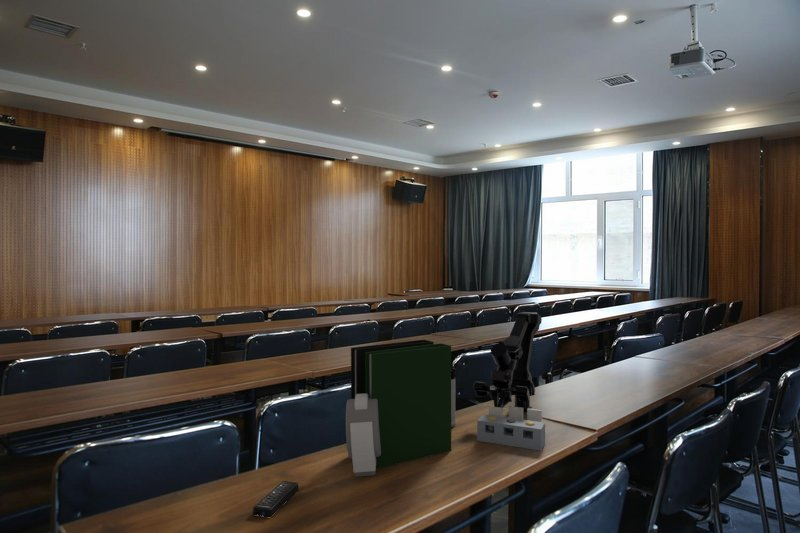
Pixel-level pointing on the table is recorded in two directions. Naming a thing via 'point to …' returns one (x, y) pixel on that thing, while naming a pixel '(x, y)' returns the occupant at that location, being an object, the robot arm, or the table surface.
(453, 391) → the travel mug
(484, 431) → the console
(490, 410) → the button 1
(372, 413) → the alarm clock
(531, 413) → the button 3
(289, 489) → the multiport hub
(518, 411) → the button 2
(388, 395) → the binder
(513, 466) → the table surface
